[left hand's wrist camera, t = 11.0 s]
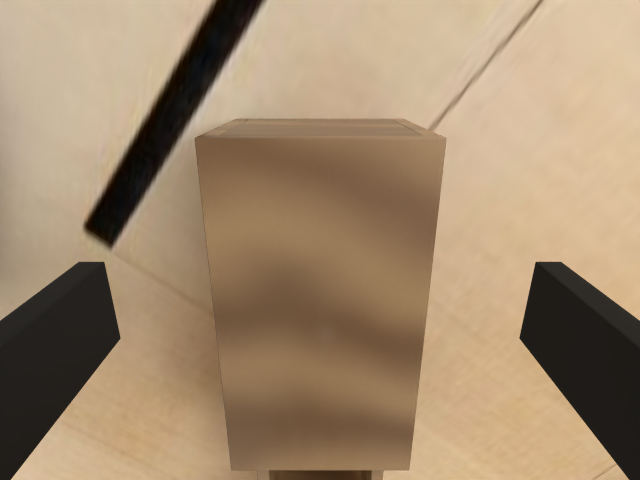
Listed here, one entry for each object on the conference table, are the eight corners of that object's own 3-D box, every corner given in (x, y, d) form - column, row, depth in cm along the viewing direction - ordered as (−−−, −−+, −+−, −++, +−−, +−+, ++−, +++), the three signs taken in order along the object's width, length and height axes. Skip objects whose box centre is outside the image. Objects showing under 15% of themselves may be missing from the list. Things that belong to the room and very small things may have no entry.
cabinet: (386, 369, 35) (409, 470, 26) (254, 369, 35) (231, 470, 26) (404, 118, 27) (446, 137, 18) (236, 118, 27) (194, 137, 18)
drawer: (371, 514, 40) (382, 610, 33) (269, 513, 40) (257, 610, 33) (387, 282, 30) (407, 345, 23) (253, 282, 30) (232, 345, 23)
